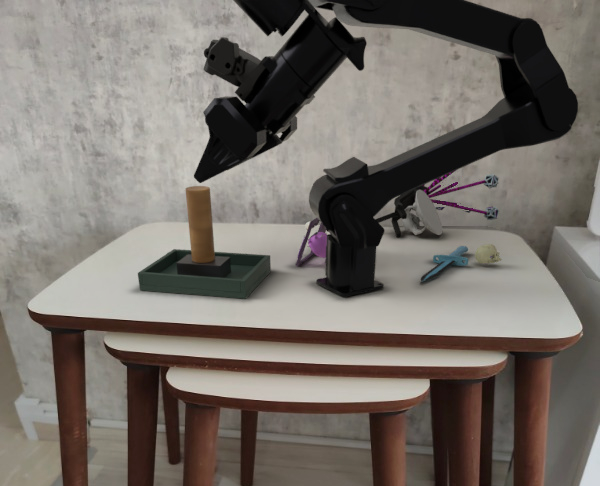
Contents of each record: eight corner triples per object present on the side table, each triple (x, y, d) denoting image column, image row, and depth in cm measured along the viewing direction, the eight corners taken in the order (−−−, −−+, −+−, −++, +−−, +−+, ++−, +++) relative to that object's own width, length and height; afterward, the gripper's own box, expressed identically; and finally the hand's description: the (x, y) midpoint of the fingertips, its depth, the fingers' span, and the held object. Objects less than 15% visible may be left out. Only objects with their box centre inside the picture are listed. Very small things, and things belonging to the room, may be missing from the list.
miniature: (425, 187, 101) (401, 202, 104) (411, 191, 95) (386, 207, 98) (446, 231, 102) (421, 244, 105) (434, 237, 96) (408, 251, 99)
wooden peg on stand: (231, 271, 81) (226, 186, 76) (221, 280, 78) (215, 192, 72) (189, 268, 82) (181, 184, 77) (177, 277, 79) (168, 190, 74)
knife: (403, 284, 79) (439, 289, 77) (403, 275, 79) (440, 279, 76) (448, 251, 92) (481, 254, 89) (448, 243, 91) (481, 246, 89)
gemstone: (469, 260, 87) (472, 240, 86) (497, 261, 87) (501, 240, 85) (472, 267, 84) (475, 246, 83) (502, 267, 84) (505, 246, 83)
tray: (270, 271, 84) (270, 255, 83) (246, 299, 74) (245, 280, 73) (175, 264, 87) (173, 248, 85) (139, 290, 77) (137, 272, 76)
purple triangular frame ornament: (327, 206, 89) (305, 219, 82) (358, 220, 88) (339, 235, 81) (312, 247, 93) (290, 263, 86) (342, 261, 92) (323, 279, 85)
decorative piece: (343, 264, 106) (450, 209, 120) (403, 275, 96) (512, 213, 110) (328, 180, 99) (444, 131, 113) (391, 182, 89) (509, 128, 103)
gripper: (270, 14, 72) (192, 114, 80) (216, 1, 56) (124, 129, 64) (334, 88, 74) (251, 179, 82) (299, 97, 58) (201, 209, 66)
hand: (211, 173), depth 73 cm, fingers open, 9 cm apart
